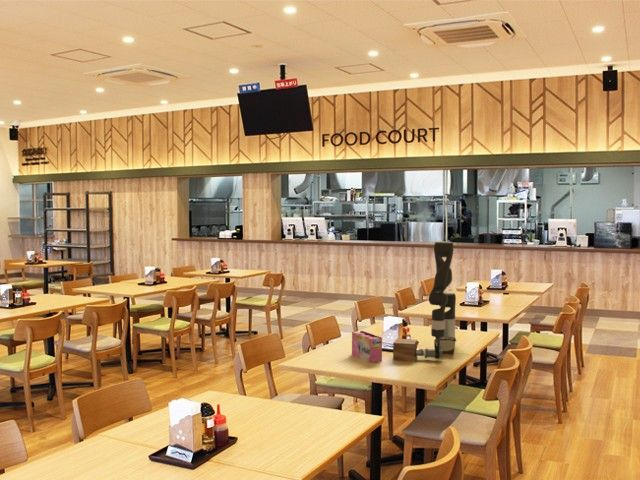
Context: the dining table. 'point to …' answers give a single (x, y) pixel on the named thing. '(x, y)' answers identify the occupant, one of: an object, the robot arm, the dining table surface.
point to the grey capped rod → (428, 353)
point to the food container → (448, 345)
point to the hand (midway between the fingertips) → (437, 357)
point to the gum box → (367, 346)
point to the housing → (404, 349)
